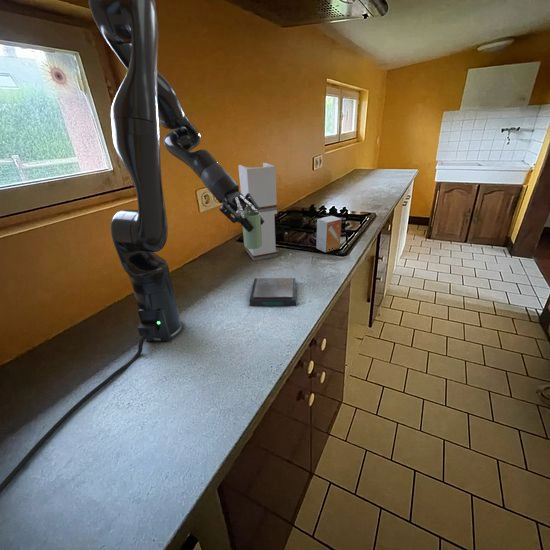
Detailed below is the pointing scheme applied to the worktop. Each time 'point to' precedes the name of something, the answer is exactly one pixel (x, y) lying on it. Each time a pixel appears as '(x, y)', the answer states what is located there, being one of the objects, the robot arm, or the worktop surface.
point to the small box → (328, 233)
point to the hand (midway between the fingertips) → (257, 226)
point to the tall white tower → (262, 205)
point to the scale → (273, 292)
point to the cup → (253, 231)
